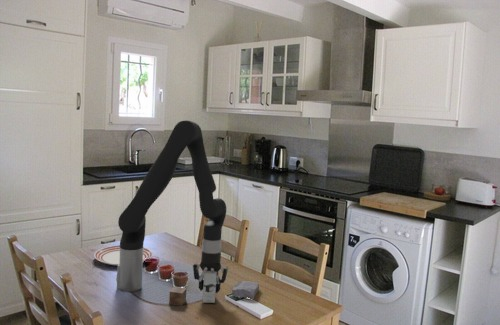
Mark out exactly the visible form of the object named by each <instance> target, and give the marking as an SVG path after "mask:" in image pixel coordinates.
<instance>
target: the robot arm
mask: <svg viewBox="0 0 500 325" xmlns="http://www.w3.org/2000/svg"><path fill="white" fill-rule="evenodd" d="M204 144H205V143H204V136H203V133H202V128H201V127H200V125H199V124H197V123H196V122H194V121H191V120H188V119H182V120H180V121H179V122H177V123H176V124H175V125H174V128H172V130H171V134H170V135H169V137H168V139H167V141H166V144H165V146H164V147H163V149H162V150H161V151H160V152H159V155H158V156H157V158H156V160H155V161H154V162H153V164H152V166H151V167H150V168H149V170H148V172H146V175H145V177H144V178H143V180H142V181H141V183H140V185H139V187H138V189H137V191H136V193H135V195H134V197H133V198H132V200H131V201H130V202H129V204H128V205H127V206H126V208H125V209H124V210H123V211H122V212H121V214H120V215H119V217H118V221H117V222H118V227H119V229H120V230H121V231H122V232H121V233H122V235H121V237H120V241H119V245H120V264H119V265H118V266H116V268H117V271H116V289H118V290H120V291H121V292H128V293H129V292H137V291H140V290H141V289H142V288H143V268H144V267H143V265H144V264H143V263H144V262H143V247H144V242H145V237H146V222H147V220H146V215H147V213H148V211H149V209H150V208H151V206H152V205H153V204H154V203H155V202H156V201H157V199H158V198H159V197H160V196H161V195H162V194H163V192H164V191H165V190H166V188H167V187H168V185H170V182H171V180H172V178H174V175H175V172H176V169H177V164H178V162H179V159H180V157H181V155H182V153H183V152H184V150H185V149H186V148H187V149H188V151H189V155H190V157H191V158H190V159H191V163H192V173H193V178H194V181H195V185H196V188H197V191H198V201H199V208H200V209H199V210H200V212H201V214H202V215H203V216H204V217H205V218H206V219H209V220H208V221H207V222H206V223H205V224H204V226H203V234H202V235H203V236H202V237H203V238H202V241H201V259H200V260H201V261H200V263H198V262H195V263H194V264H193V265H192V269H193V277H194V280H197V281H198V289H199V291H202V292H203V283H204V271H211V272H215V271H216V272H217V273H216V294H218V292H220V291H221V285H222V284H224V283H225V281H226V279H227V274H228V270H229V267H228V266H222V264H221V262H222V261H221V256H222V234H223V233H222V231H223V229H222V228H223V225H224V223H225V220H226V216H227V205H226V201H225V200H223V199H222V198H219V197H218V198H217V197H216V198H214V193H215V192H216V190H217V185H216V181H215V180H214V179H215V178H214V177H213V173H212V171H211V168H210V165H209V162H208V158H207V153H206V149H205V145H204ZM199 268H200V269H201V270H202V272H201V274H200V272H199ZM220 270H221V273H222V275H221V277H220Z"/></svg>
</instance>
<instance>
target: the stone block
mask: <svg viewBox="0 0 500 325" xmlns="http://www.w3.org/2000/svg"><path fill="white" fill-rule="evenodd" d="M259 284H260V283H259V282H258V283H257V282H254V281H249V280H244V281H238V282H237V283H235V285H234V287H233V288H232V296H233V295H236V296H241V297H248V298H250V299H249V300H251V299H253V300H254V299H255V297H256V295H257V293H258V292H259V289H260V285H259Z"/></svg>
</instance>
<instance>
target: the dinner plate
mask: <svg viewBox="0 0 500 325" xmlns="http://www.w3.org/2000/svg"><path fill="white" fill-rule="evenodd" d="M93 256H94V259H95V260H96V261H99V262H101V263H102V264H106V265H110V266H114V267H117V266H118V265H119V264H120V244H116V245H110V246H106V247H102V248H99V249H97V250H96V251H95V252H94V254H93ZM153 257H154V252H153V251H152V250H151V249H149V248H147V247H144V246H143V263H144V259H145V258H151V259H152V258H153Z"/></svg>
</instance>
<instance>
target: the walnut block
mask: <svg viewBox="0 0 500 325" xmlns="http://www.w3.org/2000/svg"><path fill="white" fill-rule="evenodd" d="M186 301H187V287H186V288H185V287H180V286H173V287H172V289H170V290H169V302H168V303H169V305H174V306H175V305H176V306H179V307H180V306H183V305H184V304H185V303H186Z"/></svg>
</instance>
